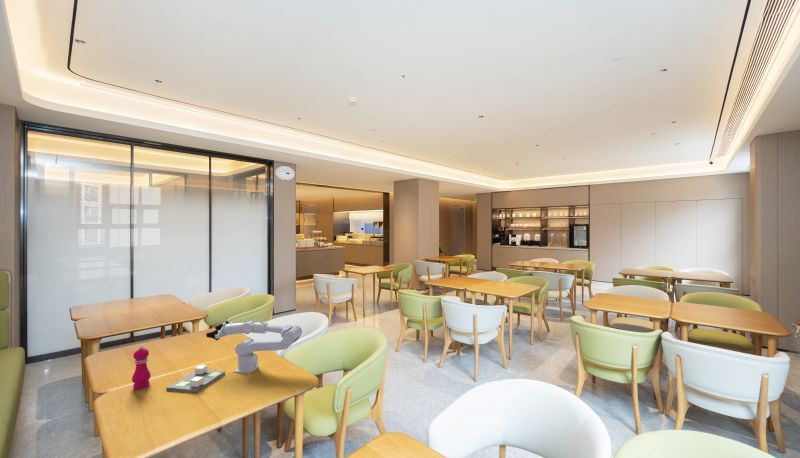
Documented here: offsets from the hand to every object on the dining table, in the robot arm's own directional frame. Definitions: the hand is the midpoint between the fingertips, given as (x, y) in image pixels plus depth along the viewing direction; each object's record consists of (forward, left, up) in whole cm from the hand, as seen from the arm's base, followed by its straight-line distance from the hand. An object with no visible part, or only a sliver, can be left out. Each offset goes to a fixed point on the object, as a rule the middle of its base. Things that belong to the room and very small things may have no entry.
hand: (211, 331), depth 185 cm
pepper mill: (+18, +25, -20) cm, 37 cm away
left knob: (-10, +22, -18) cm, 30 cm away
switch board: (-5, +16, -20) cm, 26 cm away
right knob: (-2, +10, -18) cm, 21 cm away
